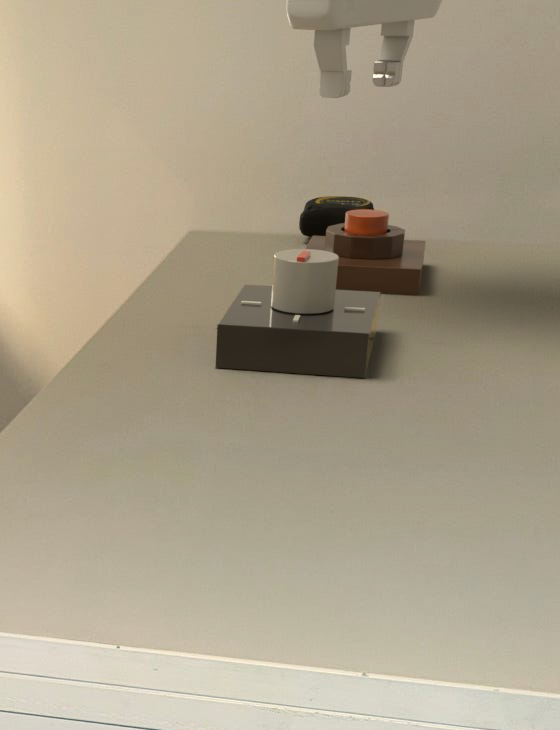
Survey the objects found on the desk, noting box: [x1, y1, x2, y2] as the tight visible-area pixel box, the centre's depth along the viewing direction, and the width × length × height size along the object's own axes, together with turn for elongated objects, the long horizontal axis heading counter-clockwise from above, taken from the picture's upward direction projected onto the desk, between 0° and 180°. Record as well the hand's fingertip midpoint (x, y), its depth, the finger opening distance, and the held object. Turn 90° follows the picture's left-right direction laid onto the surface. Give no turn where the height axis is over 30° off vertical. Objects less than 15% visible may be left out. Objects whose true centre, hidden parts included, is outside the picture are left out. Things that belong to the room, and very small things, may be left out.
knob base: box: [215, 284, 381, 379], centre depth 92 cm, size 12×10×3 cm
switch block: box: [304, 223, 427, 297], centre depth 112 cm, size 12×10×4 cm
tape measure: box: [298, 195, 375, 238], centre depth 126 cm, size 7×7×4 cm
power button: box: [344, 209, 390, 235], centre depth 111 cm, size 4×4×2 cm
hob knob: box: [271, 248, 339, 314], centre depth 90 cm, size 4×4×4 cm
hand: (361, 91), depth 98 cm, fingers open, 8 cm apart
